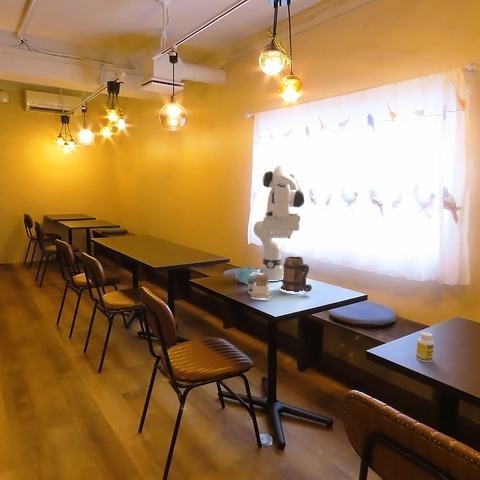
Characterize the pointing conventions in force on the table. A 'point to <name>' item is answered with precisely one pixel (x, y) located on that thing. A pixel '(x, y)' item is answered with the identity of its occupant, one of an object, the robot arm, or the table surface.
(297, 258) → the tankard
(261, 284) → the walnut block
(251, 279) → the light bulb box
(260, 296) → the oak base block
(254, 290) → the off-white middle block
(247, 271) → the teapot
